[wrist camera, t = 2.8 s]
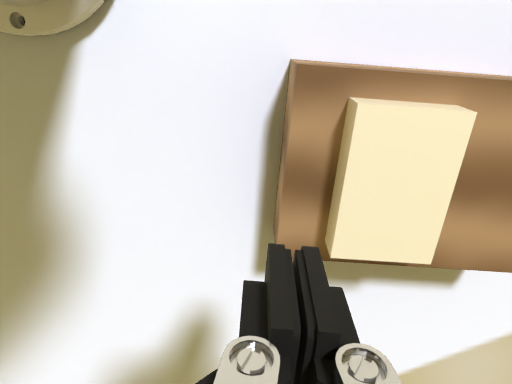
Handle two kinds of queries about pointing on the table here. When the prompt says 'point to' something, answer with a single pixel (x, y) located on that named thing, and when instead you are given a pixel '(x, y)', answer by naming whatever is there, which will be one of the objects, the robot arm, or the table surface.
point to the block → (395, 179)
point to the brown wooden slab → (411, 90)
